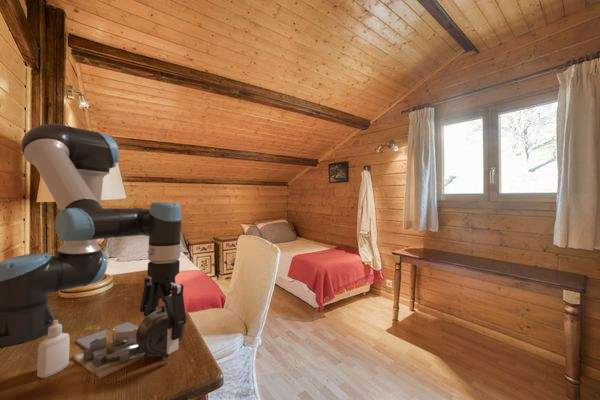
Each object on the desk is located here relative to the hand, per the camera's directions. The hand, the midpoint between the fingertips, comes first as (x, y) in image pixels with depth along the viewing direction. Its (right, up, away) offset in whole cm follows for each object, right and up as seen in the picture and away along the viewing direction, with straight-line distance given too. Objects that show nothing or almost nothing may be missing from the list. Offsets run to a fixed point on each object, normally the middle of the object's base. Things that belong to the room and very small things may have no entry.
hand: (160, 345), depth 69 cm
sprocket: (-12, -2, +1) cm, 12 cm away
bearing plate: (-12, -3, +1) cm, 12 cm away
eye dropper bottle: (-22, -3, -7) cm, 23 cm away
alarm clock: (0, -3, 0) cm, 3 cm away
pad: (-21, -3, +10) cm, 23 cm away
